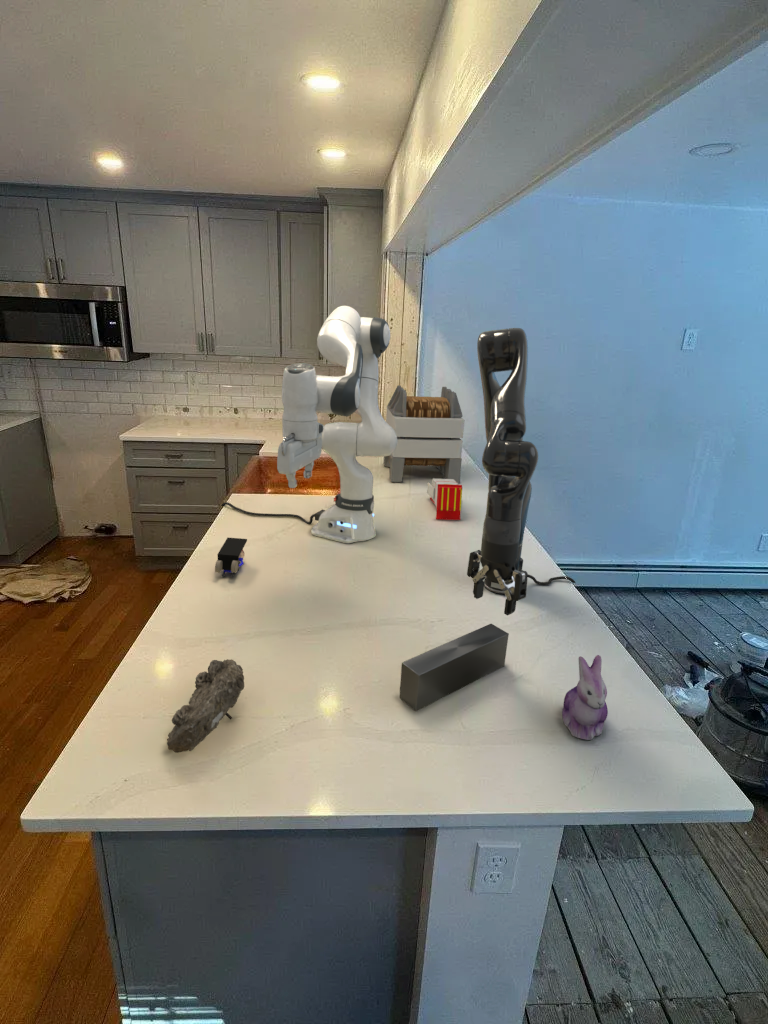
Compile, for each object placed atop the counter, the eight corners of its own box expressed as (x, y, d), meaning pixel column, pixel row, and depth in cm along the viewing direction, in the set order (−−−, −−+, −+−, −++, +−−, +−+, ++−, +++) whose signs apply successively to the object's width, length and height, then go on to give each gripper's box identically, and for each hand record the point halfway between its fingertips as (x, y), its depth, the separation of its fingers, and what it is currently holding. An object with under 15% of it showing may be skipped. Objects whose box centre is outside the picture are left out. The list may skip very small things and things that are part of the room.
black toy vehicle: (238, 584, 162) (249, 557, 175) (236, 562, 158) (247, 536, 172) (215, 584, 161) (227, 556, 175) (212, 561, 158) (225, 535, 171)
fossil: (192, 660, 117) (244, 628, 112) (224, 691, 120) (276, 661, 115) (142, 746, 98) (202, 712, 93) (182, 779, 101) (242, 748, 96)
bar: (416, 711, 112) (418, 675, 109) (399, 697, 116) (401, 662, 113) (504, 666, 128) (508, 633, 125) (487, 655, 132) (491, 623, 129)
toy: (454, 474, 240) (466, 486, 210) (452, 505, 242) (464, 521, 213) (426, 473, 239) (434, 485, 210) (424, 504, 242) (432, 520, 212)
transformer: (382, 463, 289) (386, 382, 275) (445, 464, 293) (451, 384, 279) (390, 482, 257) (394, 392, 243) (460, 483, 261) (468, 394, 247)
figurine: (586, 749, 104) (600, 681, 99) (547, 715, 112) (558, 650, 107) (622, 734, 108) (637, 668, 103) (582, 702, 117) (594, 639, 112)
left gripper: (294, 439, 133) (294, 495, 138) (326, 424, 152) (325, 473, 157) (269, 436, 135) (271, 492, 140) (304, 422, 154) (304, 471, 158)
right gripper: (540, 543, 113) (530, 614, 119) (487, 521, 124) (480, 587, 129) (516, 552, 109) (507, 625, 114) (463, 528, 119) (456, 597, 125)
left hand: (300, 482), depth 148 cm, fingers open, 8 cm apart
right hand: (492, 605), depth 122 cm, fingers open, 8 cm apart
